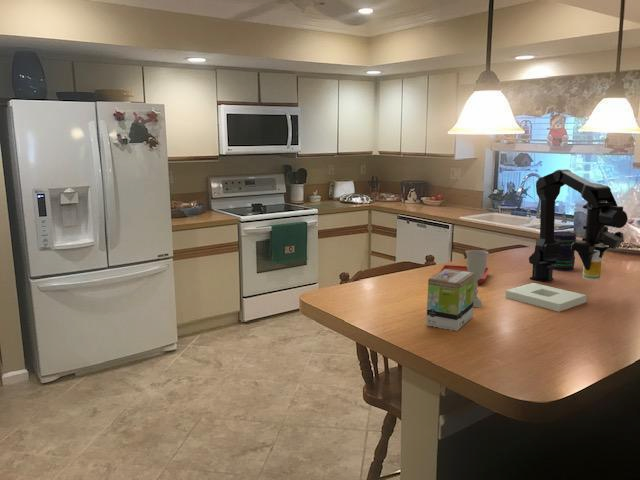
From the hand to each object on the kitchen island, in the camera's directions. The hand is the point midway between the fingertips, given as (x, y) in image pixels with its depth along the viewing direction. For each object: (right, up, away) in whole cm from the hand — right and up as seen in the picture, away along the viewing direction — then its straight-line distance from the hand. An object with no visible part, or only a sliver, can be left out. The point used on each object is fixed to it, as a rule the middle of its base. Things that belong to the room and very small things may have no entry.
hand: (591, 268), depth 184 cm
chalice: (-41, -12, -4) cm, 43 cm away
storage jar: (+9, -2, +43) cm, 44 cm away
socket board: (-16, -11, 0) cm, 19 cm away
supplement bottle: (0, -4, +1) cm, 4 cm away
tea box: (-53, -15, -19) cm, 59 cm away
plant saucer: (-36, -6, +30) cm, 47 cm away
